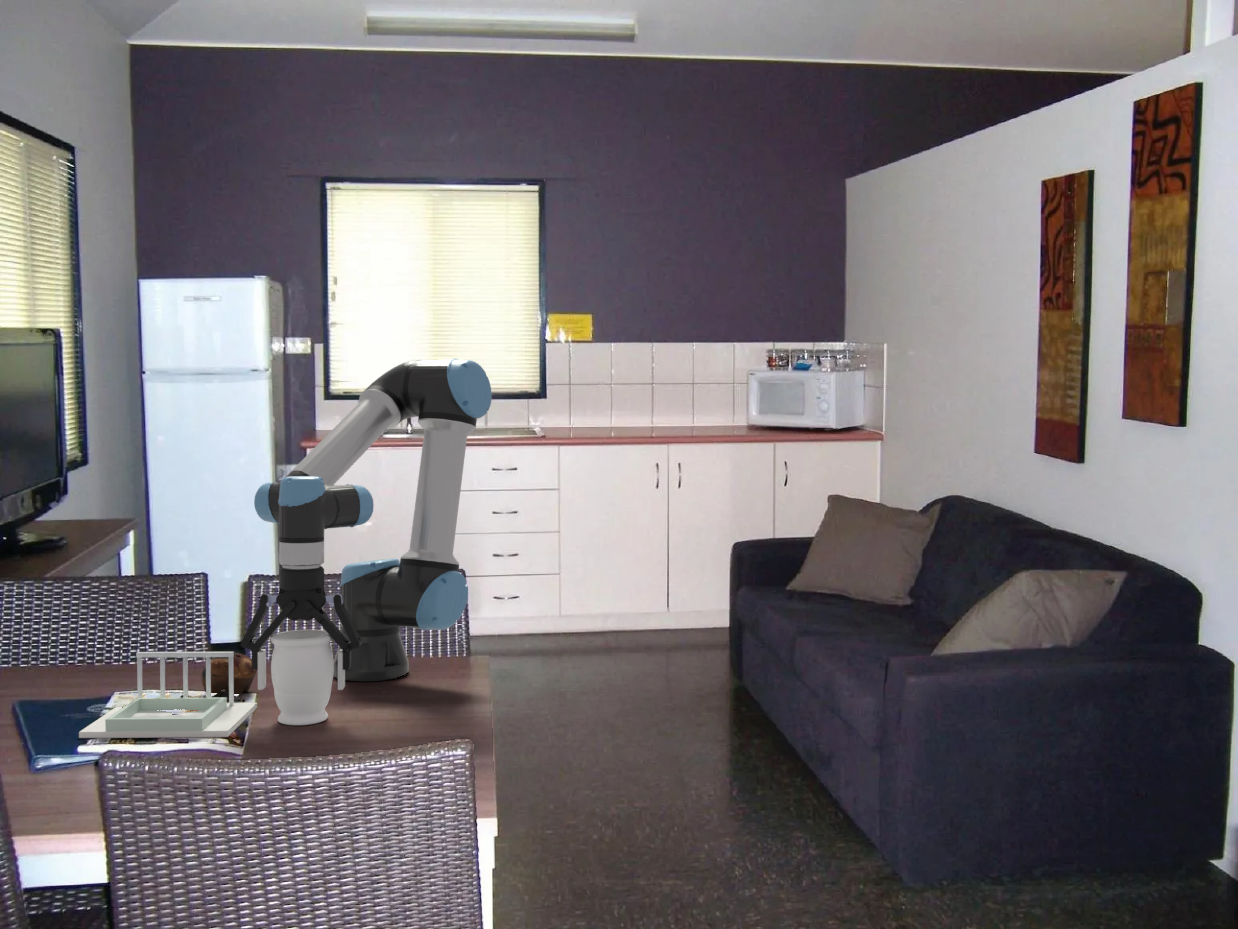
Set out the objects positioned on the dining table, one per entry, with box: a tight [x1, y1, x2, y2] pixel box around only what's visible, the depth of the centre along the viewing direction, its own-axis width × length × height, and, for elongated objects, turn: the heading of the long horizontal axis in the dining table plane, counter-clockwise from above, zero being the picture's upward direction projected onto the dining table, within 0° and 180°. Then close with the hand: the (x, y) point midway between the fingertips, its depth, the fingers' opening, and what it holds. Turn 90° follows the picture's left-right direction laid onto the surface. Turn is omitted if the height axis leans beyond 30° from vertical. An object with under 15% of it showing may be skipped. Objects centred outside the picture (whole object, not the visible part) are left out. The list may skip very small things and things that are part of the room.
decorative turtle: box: [200, 652, 258, 695], centre depth 229 cm, size 10×15×8 cm, turn 4°
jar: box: [270, 629, 334, 726], centre depth 210 cm, size 11×10×15 cm
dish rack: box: [78, 651, 258, 739], centre depth 208 cm, size 24×19×11 cm
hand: (301, 688), depth 210 cm, fingers open, 13 cm apart
